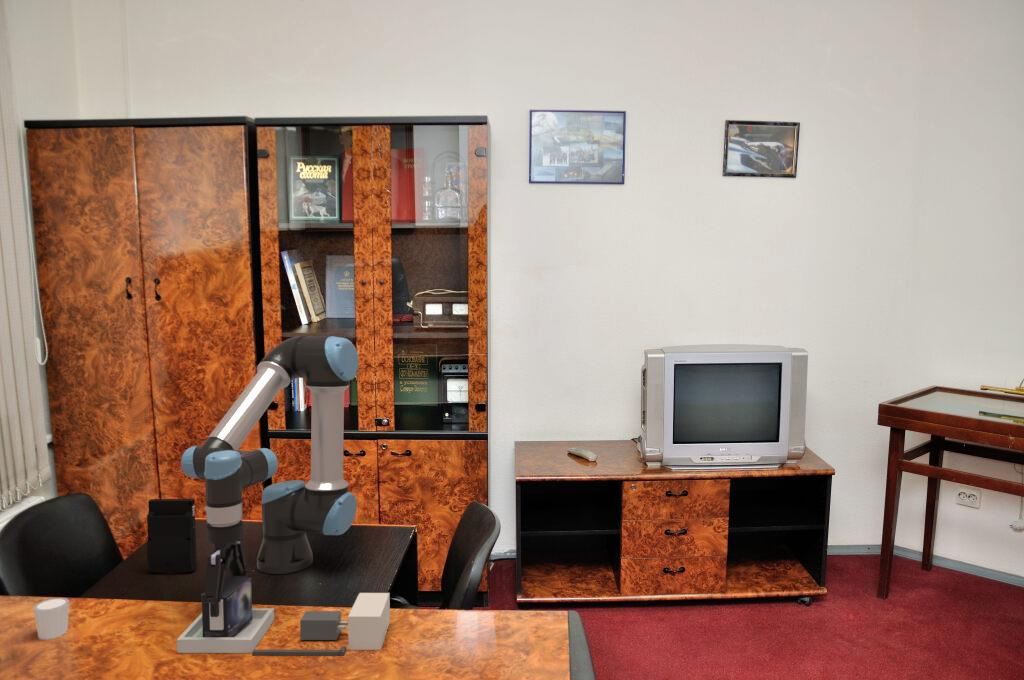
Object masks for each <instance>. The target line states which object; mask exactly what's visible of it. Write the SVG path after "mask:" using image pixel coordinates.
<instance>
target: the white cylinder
mask: <svg viewBox="0 0 1024 680" xmlns="http://www.w3.org/2000/svg"><path fill="white" fill-rule="evenodd" d="M69 608H70V600H69V598H65V597H55V598H50V599H49V598H48V599H45V600H43V601H40V602H38V603H37V604H35V605H34V606H33V612H34V620H35V625H36V631H37V637H38V639H39V640H43V641H45V640H46V641H48V640H53V639H57V637H58V638H60V637H62V636H61V635H63V634H64V633H66V634H67V632H68V628H69V627H68V626H69V610H70V609H69ZM66 631H67V632H66ZM64 635H65V634H64ZM64 635H63V636H64ZM59 636H60V637H59Z"/></svg>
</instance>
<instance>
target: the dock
mask: <svg viewBox="0 0 1024 680" xmlns="http://www.w3.org/2000/svg"><path fill="white" fill-rule="evenodd" d="M273 620H274V621H275V608H273V607H272V608H270V607H269V608H266V607H265V608H256V607H255V608H254V607H252V620H251V621H250V622H249V623H248V624H247V625H245V626H244V627H243V628H242V629H241V630H240V631H239V632H237V633H236V634H235V635H234V636H233V637H203V625H202V612H200V614H199V615H198V616H197V617H196V619H194V620H193V622H192V623H191V624H190V625H189V626H188V627H187V628H186V629H185V630H184V631H183V632H182V633H181V634H180V635H179V637H178V638H177V639H176V653H177V654H252V652H253V650H256V648H257V646H258V645H259V644H260V642H261V641H262V639H263V638H264V637H265V635H266V633H267V632H268V631H269V629H270V628H271V626H272V625H273V623H274V622H273ZM272 622H273V623H272ZM271 624H272V625H271ZM270 625H271V626H270ZM269 627H270V628H269Z"/></svg>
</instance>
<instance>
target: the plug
mask: <svg viewBox="0 0 1024 680" xmlns="http://www.w3.org/2000/svg"><path fill="white" fill-rule="evenodd" d="M299 626H300V627H299V631H300V633H299V634H300V641H305V640H306V641H337V640H338V639H339V636H340V635H341V632H342V631H346V630H347V626H348V620H345V621H344V620H343V621H342V611H341V610H339V611H337V610H336V611H335V610H334V611H333V610H331V611H329V610H326V611H325V610H320V611H319V610H318V611H316V610H314V611H313V610H311V611H310V610H309V611H308V610H305V612H304V613H303V615H302V616H301V618H300V620H299Z"/></svg>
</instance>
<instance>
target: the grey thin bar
mask: <svg viewBox="0 0 1024 680" xmlns="http://www.w3.org/2000/svg"><path fill="white" fill-rule="evenodd" d="M346 651H347V645H346V646H345V645H344V646H341V647H340V649H254V650H253V652H252V653H251V654H252V657H253V656H255V657H256V656H260V657H262V656H264V657H266V656H269V657H270V656H273V657H274V656H275V657H277V656H279V657H280V656H281V657H283V656H284V657H285V656H288V657H289V656H290V657H291V656H292V657H293V656H296V657H297V656H298V657H299V656H302V657H303V656H304V657H305V656H306V657H309V656H310V657H315V656H316V657H319V656H320V657H321V656H322V657H323V656H324V657H325V656H327V657H328V656H329V657H330V656H331V657H334V656H335V657H337V656H338V657H341V656H342V657H343V656H345V654H346Z"/></svg>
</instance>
